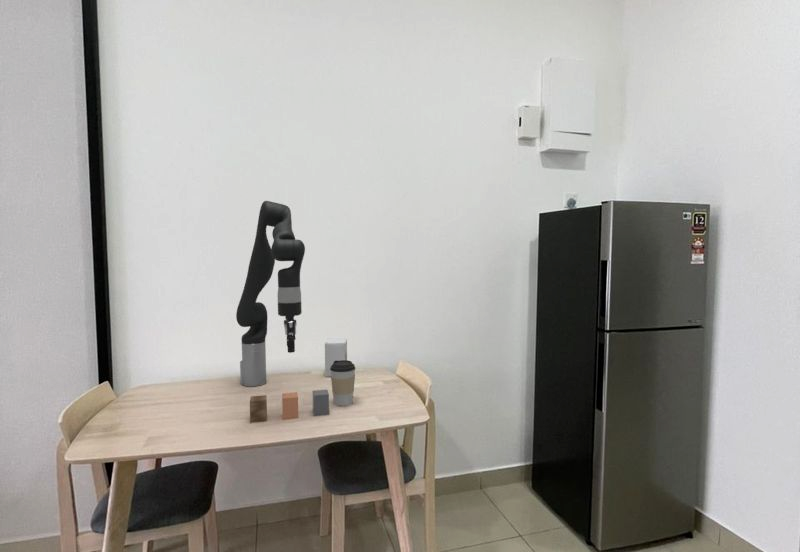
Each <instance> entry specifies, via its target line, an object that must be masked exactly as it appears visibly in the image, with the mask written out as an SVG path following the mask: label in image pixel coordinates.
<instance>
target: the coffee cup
mask: <svg viewBox="0 0 800 552" xmlns="http://www.w3.org/2000/svg"><path fill="white" fill-rule="evenodd" d="M330 370H331V377H330V382H331V390H332V398H333V399H332V400H333V405H335V406H338V407H345V406H350V405H352V404H353V403H354V402H353V401H354V390H355V380H356V374H355V371H356V365H355V364H354V363H353V362H352V361H351V360H348V359H347V360H341V361H337V360H336V361H334V362H333V365H331V368H330Z"/></svg>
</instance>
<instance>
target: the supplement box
mask: <svg viewBox="0 0 800 552" xmlns="http://www.w3.org/2000/svg"><path fill="white" fill-rule="evenodd" d="M336 360H337V361H341V360H348V338H328V339H326V341H325V342H324V376H325V378H329V377H330V378H331V370H330V368H331V365H333V362H334V361H336Z"/></svg>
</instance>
